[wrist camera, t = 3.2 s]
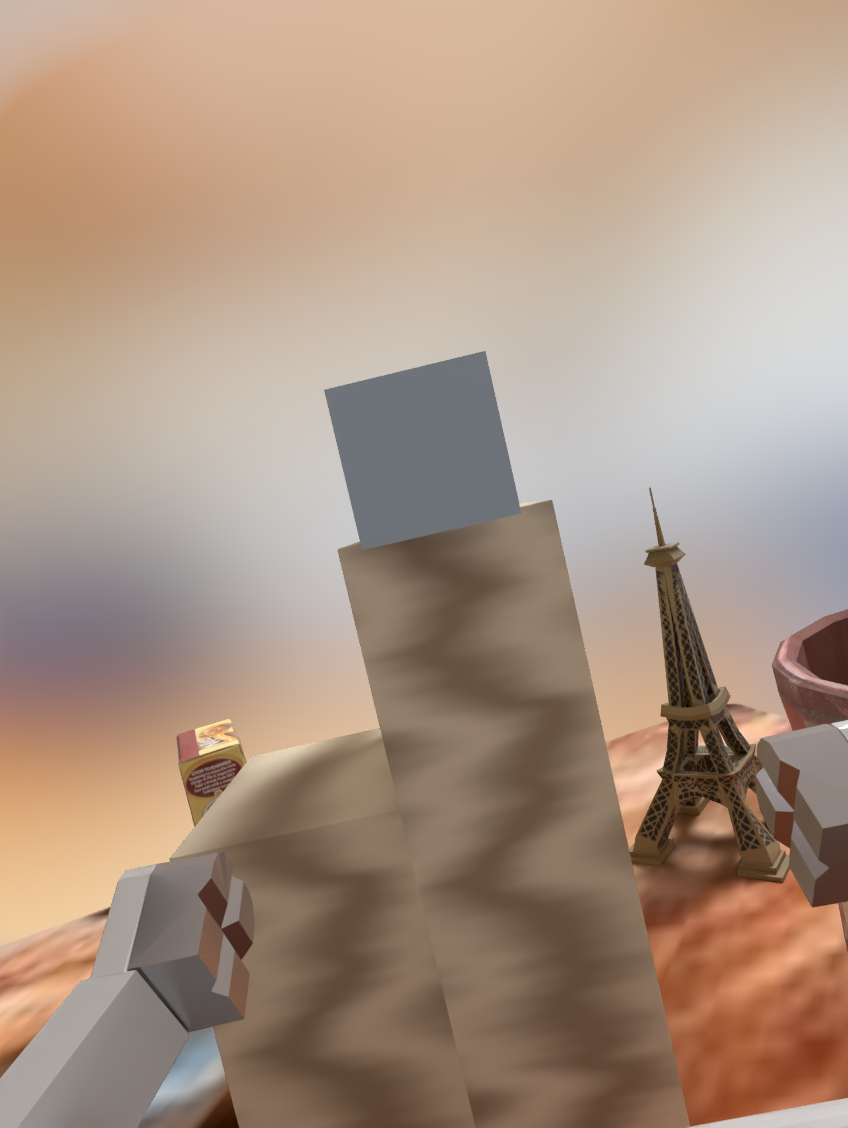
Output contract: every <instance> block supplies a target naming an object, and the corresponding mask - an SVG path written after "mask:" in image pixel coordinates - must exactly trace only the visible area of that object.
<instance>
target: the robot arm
mask: <svg viewBox="0 0 848 1128" xmlns="http://www.w3.org/2000/svg"><path fill="white" fill-rule="evenodd" d="M757 757H758V758H759V760H760V762H761V763H762V765H763V768H762V769H761V770H760V771H759V773H758V774H757V775H756V794H757V798H758V803H759V807H760V810H761V813H762V815H763V817H764V820H765V822H766V824H767V826H768V828H769V830H770V832H771V834H772V836H773V838H774V839H776V840H777V841H779V842H781V843H782V844H784V845H785V846H787V847H789V848H790V857H789V867H790V869H791V870H792V872H793V874H794V876H795V878H796V879H797V881H798V883H799V885H800V887H801V888H802V890H803V892H804V894H805V896H806V897H807V899H808V901H809V903H810V904H811V906H812V907H818V906H824V905H829V904H835V903H841V902H847V901H848V720H845V721H841V722H836V723H832V724H822V725H818V726H814V727H809V728H805V729H800V730H796V731H791V732H787V733H782V734H778V735H773V736H769V737H764V738H761V739H760V741H759V743H758V747H757ZM232 870H233V863H232V862H231V860H230V859H229V857H228V856H227V854H226V853H225V852H220V853H215V854H209V855H204V856H198V857H193V858H187V859H182V860H176V861H171V862H166V863H160V864H155V865H150V866H145V867H139V868H135V869H130V870H125V872H124V874H123V875H122V876H121V878H120V879H119V881H118V883H117V887H116V890H115V894H114V897H113V901H112V904H111V908H110V911H109V915H108V918H107V921H106V925H105V928H104V932H103V935H102V939H101V942H100V946H99V949H98V953H97V956H96V960H95V963H94V967H93V970H92V974H91V977H90V979H86V980H82V981H80V982H79V983H78V985H77V986H76V987H75V988H74V989H73V991H72V992H71V993H70V994H69V996H68V997H67V998H66V999H65V1000H64V1002H63V1003H62V1004H61V1005H60V1006H59V1008H58V1009H57V1010H56V1011H55V1013H54V1014H53V1015H52V1016H51V1017H50V1019H49V1020H48V1021H47V1022H46V1023H45V1025H44V1026H43V1027H42V1028H41V1030H40V1031H39V1032H38V1033H37V1034H36V1036H35V1037H34V1038H33V1039H32V1040H31V1042H30V1043H29V1044H28V1045H27V1047H26V1048H25V1049H24V1050H23V1051H22V1053H21V1054H20V1055H19V1056H18V1057H17V1059H16V1060H15V1061H14V1062H13V1063H12V1065H11V1066H10V1067H9V1068H8V1070H7V1071H6V1072H5V1073H4V1074H3V1076H2V1077H1V1078H0V1128H137V1126H138V1125H139V1123H140V1121H141V1120H142V1118H143V1116H144V1114H145V1113H146V1111H147V1109H148V1107H149V1106H150V1104H151V1102H152V1100H153V1099H154V1097H155V1095H156V1093H157V1092H158V1090H159V1088H160V1087H161V1085H162V1083H163V1081H164V1080H165V1078H166V1076H167V1074H168V1073H169V1071H170V1069H171V1067H172V1066H173V1064H174V1062H175V1060H176V1059H177V1057H178V1055H179V1053H180V1052H181V1050H182V1048H183V1047H184V1045H185V1043H186V1041H187V1040H188V1038H189V1036H190V1035H189V1033H188V1032H191V1031H195V1030H200V1029H204V1028H208V1027H213V1026H217V1025H221V1024H226V1023H230V1022H235V1021H239V1020H243V1019H245V1010H246V1002H247V993H248V984H249V975H250V973H249V971H248V970H247V968H246V967H245V965H244V964H243V962H242V961H241V960H242V959H243V957H244V956H245V954H246V953H247V951H248V950H249V949H250V947H251V946H252V944H253V938H254V927H255V922H254V910H253V903H252V899H251V896H250V893H249V890H248V888H247V887H246V885H245V883H244V881H242V880H239V879H237V878H235V877H233V876H232ZM686 1128H848V1098H844V1099H838V1100H833V1101H828V1102H822V1103H817V1104H811V1105H806V1106H800V1107H795V1108H790V1109H784V1110H779V1111H773V1112H768V1113H762V1114H757V1115H752V1116H746V1117H741V1118H735V1119H730V1120H724V1121H719V1122H713V1123H708V1124H703V1125H697V1126H692V1127H686Z"/></svg>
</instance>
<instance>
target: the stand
mask: <svg viewBox="0 0 848 1128" xmlns="http://www.w3.org/2000/svg"><path fill="white" fill-rule="evenodd" d="M519 505H520V509H521V514H517V515H513V516H508V517H504V518H500V519H495V520H491V521H487V522H482V523H478V524H474V525H469V526H465V527H461V528H456V529H452V530H448V531H443V532H439V533H435V534H430V535H426V536H422V537H417V538H413V539H409V540H404V541H400V542H396V543H391V544H387V545H383V546H378V547H374V548H370V549H365V550H362V547H361V543H360V542H357V543H354V544H352V545H349V546H346V547H343V548H340V549H338V554H339V558H340V562H341V567H342V571H343V575H344V579H345V583H346V587H347V591H348V596H349V600H350V604H351V608H352V613H353V617H354V621H355V625H356V629H357V633H358V638H359V642H360V646H361V650H362V654H363V658H364V663H365V667H366V671H367V675H368V679H369V683H370V688H371V692H372V696H373V700H374V705H375V708H376V713H377V717H378V721H379V726H380V728H379V729H374V730H369V731H365V732H361V733H356V734H351V735H347V736H342V737H337V738H333V739H328V740H324V741H320V742H315V743H311V744H306V745H301V746H297V747H292V748H287V749H283V750H278V751H274V752H269V753H265V754H260V755H255V756H252V757H251V758H250V759H249V760H248V761H247V763H246V764H245V765H244V766H243V768H242V769H241V770H240V771H239V773H238V774H237V775H236V776H235V778H234V779H233V780H232V781H231V783H230V784H229V785H228V786H227V787H226V789H225V790H224V791H223V792H222V794H221V795H220V796H219V797H218V799H217V800H216V801H215V802H214V804H213V805H212V806H211V807H210V809H209V810H208V811H207V812H206V814H205V815H204V816H203V817H202V819H201V820H200V821H199V822H198V824H197V825H196V826H195V828H194V829H193V830H192V831H191V832H190V834H189V835H188V836H187V837H186V839H185V840H184V841H183V842H182V844H181V845H180V846H179V847H178V849H177V850H176V851H175V852H174V853H173V855H172V856H171V857H170V858H169V859H170V862H171V861H176V860H182V859H187V858H193V857H198V856H204V855H209V854H215V853H220V852H225V853H226V854H227V856H228V857H229V859H230V860H231V862H232V863H233V870H232V876H233V877H235V878H237V879H239V880H242V881H244V883H245V885H246V887H247V888H248V890H249V893H250V896H251V899H252V903H253V910H254V922H255V927H254V938H253V944H252V946H251V947H250V949H249V950H248V951H247V953H246V954H245V956H244V957H243V959H242V960H241V961H242V962H243V964H244V965H245V967H246V968H247V970H248V971H249V973H250V975H249V984H248V993H247V1002H246V1010H245V1019H243V1020H239V1021H235V1022H230V1023H226V1024H221V1025H217V1026H213V1029H214V1033H215V1037H216V1040H217V1044H218V1048H219V1052H220V1056H221V1060H222V1063H223V1067H224V1071H225V1075H226V1079H227V1083H228V1087H229V1090H230V1094H231V1098H232V1102H233V1106H234V1110H235V1114H236V1117H237V1121H238V1125H239V1128H686V1127H690V1124H689V1120H688V1115H687V1111H686V1106H685V1102H684V1097H683V1093H682V1088H681V1084H680V1079H679V1075H678V1070H677V1065H676V1061H675V1056H674V1052H673V1047H672V1043H671V1038H670V1034H669V1029H668V1025H667V1020H666V1015H665V1011H664V1006H663V1002H662V997H661V993H660V988H659V984H658V979H657V975H656V970H655V965H654V961H653V956H652V952H651V947H650V943H649V938H648V934H647V929H646V925H645V920H644V916H643V911H642V906H641V902H640V897H639V893H638V888H637V884H636V879H635V875H634V870H633V866H632V861H631V856H630V852H629V847H628V843H627V838H626V834H625V829H624V825H623V820H622V816H621V811H620V807H619V802H618V797H617V793H616V788H615V784H614V779H613V775H612V770H611V766H610V761H609V757H608V752H607V747H606V743H605V739H604V734H603V730H602V725H601V720H600V716H599V711H598V707H597V702H596V697H595V693H594V688H593V684H592V679H591V675H590V670H589V666H588V661H587V657H586V652H585V648H584V643H583V638H582V634H581V629H580V625H579V620H578V616H577V611H576V607H575V602H574V598H573V593H572V589H571V584H570V579H569V575H568V571H567V566H566V561H565V557H564V552H563V548H562V543H561V539H560V534H559V529H558V525H557V521H556V516H555V511H554V507H553V503H552V500H546V501H536V502H526V503H519Z"/></svg>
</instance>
